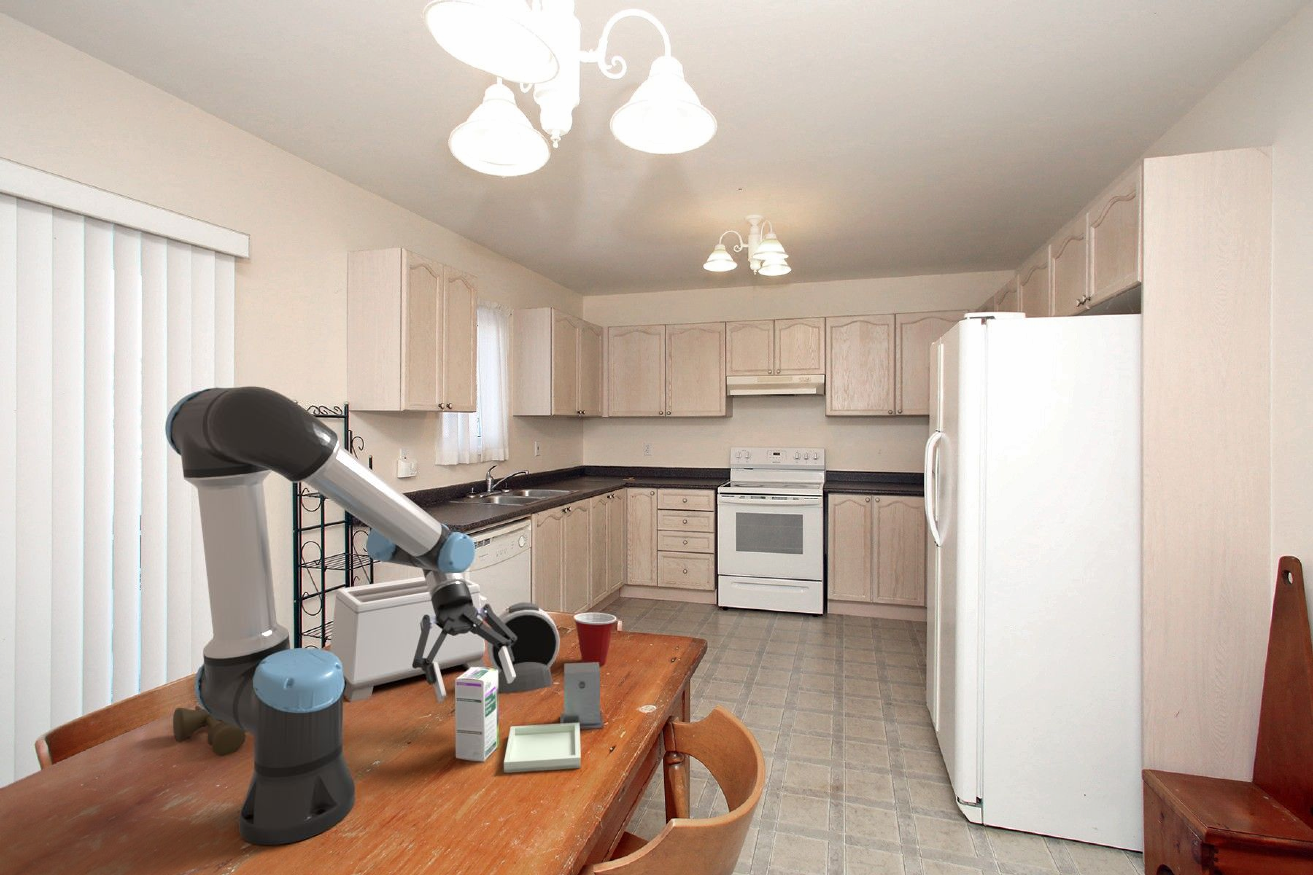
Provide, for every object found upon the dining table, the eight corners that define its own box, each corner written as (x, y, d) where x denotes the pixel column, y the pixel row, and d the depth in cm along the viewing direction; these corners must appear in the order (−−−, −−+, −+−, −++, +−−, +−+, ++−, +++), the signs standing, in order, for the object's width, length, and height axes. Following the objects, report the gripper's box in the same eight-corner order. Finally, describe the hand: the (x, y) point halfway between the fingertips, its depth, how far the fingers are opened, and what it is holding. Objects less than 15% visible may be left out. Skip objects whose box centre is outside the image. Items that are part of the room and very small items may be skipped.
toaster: (498, 664, 154) (499, 582, 154) (350, 702, 132) (350, 606, 132) (466, 644, 169) (466, 569, 169) (327, 675, 147) (328, 589, 146)
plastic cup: (624, 661, 157) (625, 614, 157) (598, 674, 148) (599, 625, 148) (591, 652, 163) (591, 607, 163) (564, 665, 154) (564, 617, 154)
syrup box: (484, 762, 108) (485, 680, 108) (453, 758, 110) (454, 677, 110) (499, 746, 114) (499, 668, 114) (469, 742, 115) (470, 665, 115)
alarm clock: (488, 695, 136) (489, 613, 136) (485, 678, 146) (486, 601, 145) (561, 686, 141) (562, 607, 141) (554, 670, 151) (554, 595, 151)
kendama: (197, 769, 107) (165, 730, 119) (260, 748, 114) (223, 713, 127) (199, 734, 107) (166, 699, 119) (261, 716, 114) (225, 684, 127)
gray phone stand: (560, 730, 120) (560, 674, 120) (560, 716, 126) (560, 662, 126) (603, 727, 122) (603, 672, 122) (601, 714, 128) (602, 661, 127)
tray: (503, 772, 105) (503, 762, 105) (510, 735, 118) (510, 726, 118) (580, 767, 107) (580, 757, 107) (579, 731, 120) (579, 722, 120)
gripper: (500, 591, 137) (531, 681, 125) (381, 612, 121) (405, 716, 110) (511, 572, 132) (545, 663, 121) (389, 591, 117) (415, 697, 105)
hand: (478, 689), depth 115 cm, fingers open, 13 cm apart
